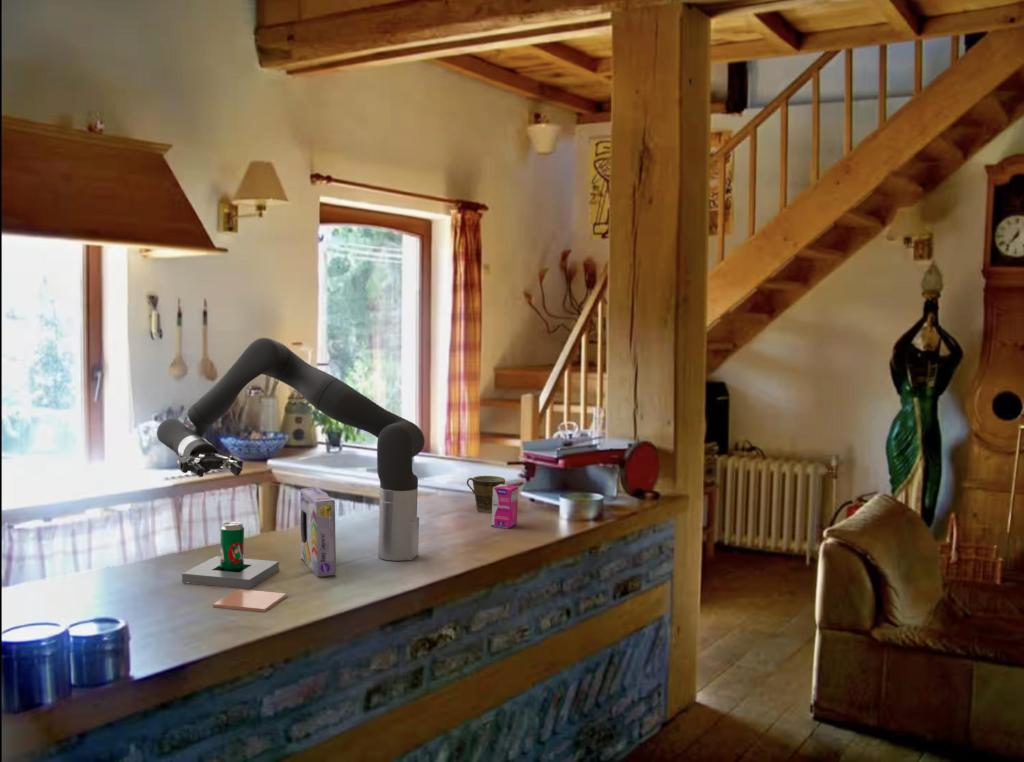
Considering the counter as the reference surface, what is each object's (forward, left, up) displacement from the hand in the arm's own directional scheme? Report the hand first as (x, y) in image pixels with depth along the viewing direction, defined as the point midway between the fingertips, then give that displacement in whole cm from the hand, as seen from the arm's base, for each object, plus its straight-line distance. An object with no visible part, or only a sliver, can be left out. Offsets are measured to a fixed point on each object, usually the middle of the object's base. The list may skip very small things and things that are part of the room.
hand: (220, 472), depth 229 cm
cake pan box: (-22, -6, -22) cm, 32 cm away
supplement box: (-56, -63, -22) cm, 87 cm away
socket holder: (-7, +7, -22) cm, 24 cm away
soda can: (-7, +7, -22) cm, 24 cm away
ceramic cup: (-46, -82, -22) cm, 96 cm away
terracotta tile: (-19, +23, -22) cm, 37 cm away
